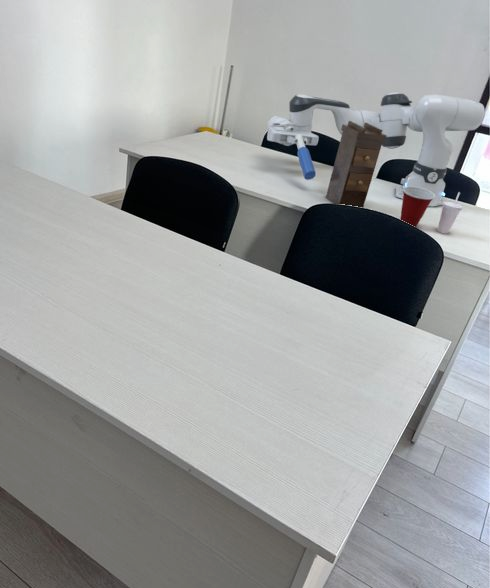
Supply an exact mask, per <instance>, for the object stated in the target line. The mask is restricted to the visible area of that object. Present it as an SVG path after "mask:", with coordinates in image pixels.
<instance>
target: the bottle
mask: <svg viewBox="0 0 490 588" xmlns="http://www.w3.org/2000/svg"><path fill="white" fill-rule="evenodd" d="M295 138H296V139H298V141H297V144H296V147H297V157H298V161H299V165H300V168H301V171H302V175H303V178H304V179H305V180H307V181H310V180H314V178H315V177H316V175H317V173H316V170H315V167H314V166H315V165H314V164H313V160H312V157H311V153H310V150H309V149H308V148H307V147H306V145H305V144H304V141H303V137H302V135H301V134H298V135H296V136H295Z"/></svg>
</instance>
